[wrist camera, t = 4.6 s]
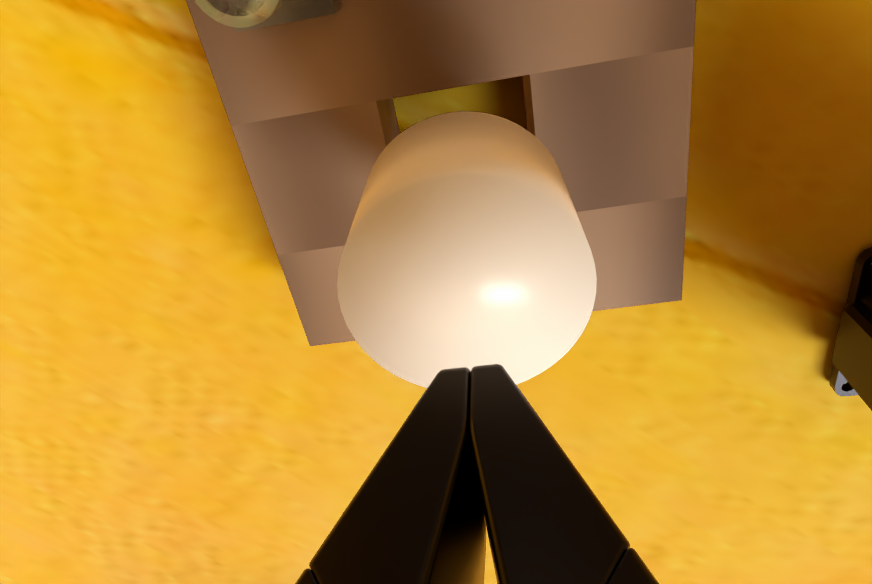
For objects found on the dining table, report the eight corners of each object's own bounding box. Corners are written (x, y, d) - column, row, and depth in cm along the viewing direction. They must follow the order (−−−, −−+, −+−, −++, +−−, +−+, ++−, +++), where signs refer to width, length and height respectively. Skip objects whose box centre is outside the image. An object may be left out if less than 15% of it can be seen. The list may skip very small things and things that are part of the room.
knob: (543, 64, 15) (591, 152, 9) (556, 232, 17) (600, 378, 12) (359, 96, 15) (305, 196, 10) (397, 254, 18) (370, 404, 12)
